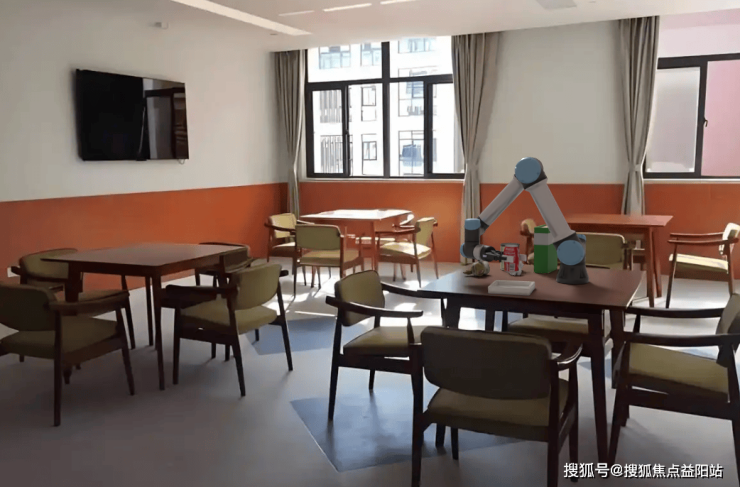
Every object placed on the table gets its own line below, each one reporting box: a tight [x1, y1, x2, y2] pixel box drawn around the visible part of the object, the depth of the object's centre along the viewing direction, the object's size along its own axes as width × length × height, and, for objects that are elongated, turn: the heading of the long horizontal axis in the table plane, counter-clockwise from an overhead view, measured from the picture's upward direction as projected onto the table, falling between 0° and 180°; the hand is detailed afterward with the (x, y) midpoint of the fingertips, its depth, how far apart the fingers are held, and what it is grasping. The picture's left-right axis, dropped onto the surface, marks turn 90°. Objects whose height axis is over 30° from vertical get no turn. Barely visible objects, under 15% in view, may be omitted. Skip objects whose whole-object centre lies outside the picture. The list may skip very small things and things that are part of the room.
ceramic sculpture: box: [462, 260, 491, 277], centre depth 341 cm, size 11×9×15 cm
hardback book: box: [533, 223, 558, 274], centre depth 351 cm, size 18×7×24 cm, turn 148°
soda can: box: [503, 245, 521, 274], centre depth 297 cm, size 7×7×12 cm
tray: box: [487, 279, 536, 296], centre depth 299 cm, size 18×18×3 cm
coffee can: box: [499, 242, 521, 271], centre depth 358 cm, size 10×10×14 cm
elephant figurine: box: [509, 260, 524, 276], centre depth 342 cm, size 8×10×7 cm
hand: (519, 258), depth 293 cm, fingers closed on soda can, 7 cm apart
